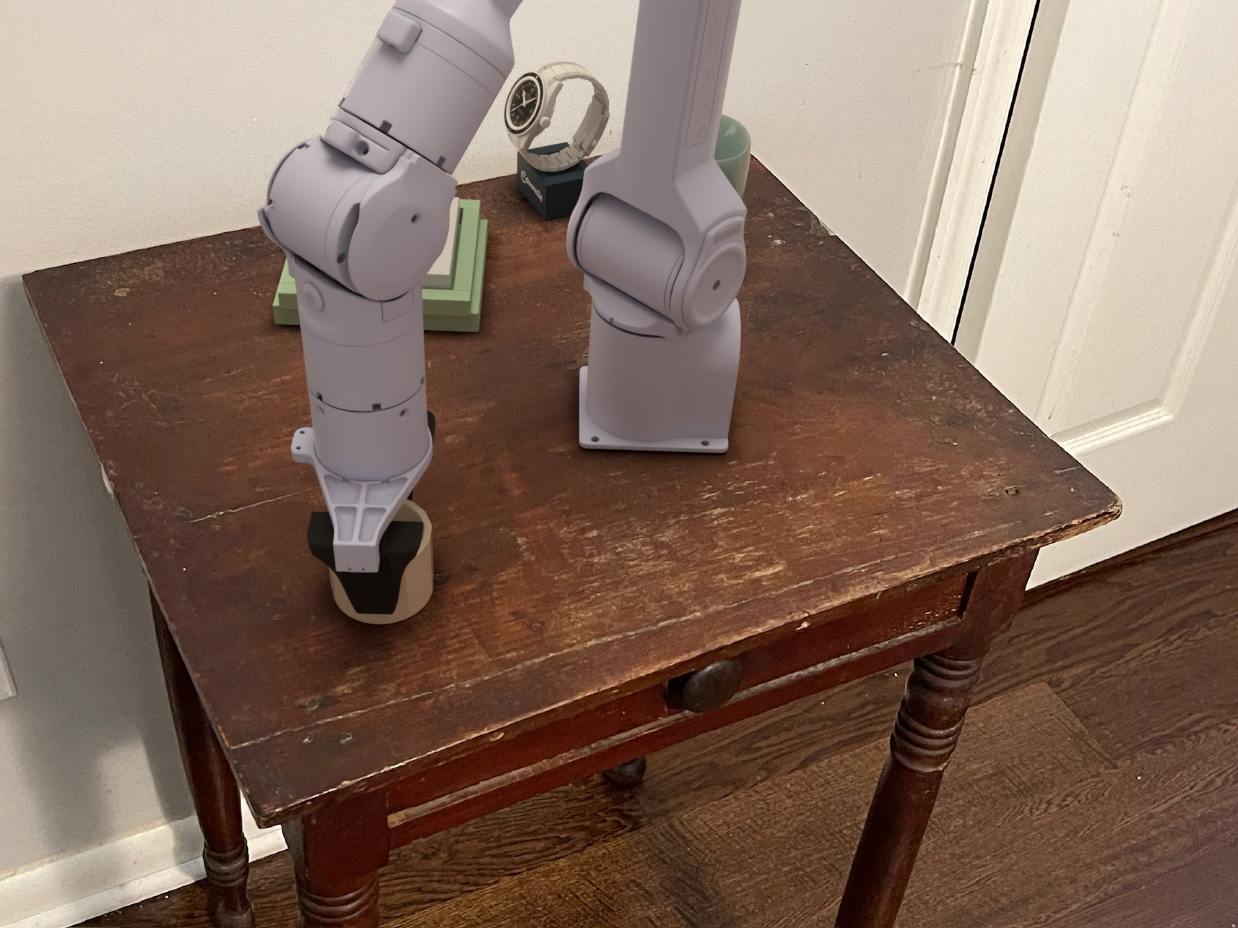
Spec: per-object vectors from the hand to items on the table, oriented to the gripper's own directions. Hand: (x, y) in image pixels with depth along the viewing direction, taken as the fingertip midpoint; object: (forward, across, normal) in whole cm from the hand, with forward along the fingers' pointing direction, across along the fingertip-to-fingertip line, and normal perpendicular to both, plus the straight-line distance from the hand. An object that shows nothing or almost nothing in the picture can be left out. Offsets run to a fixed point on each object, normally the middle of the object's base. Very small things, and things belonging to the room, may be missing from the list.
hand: (381, 566), depth 75 cm
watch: (+2, -42, +9) cm, 43 cm away
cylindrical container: (+2, 0, 0) cm, 2 cm away
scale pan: (-1, -30, -3) cm, 30 cm away
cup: (+2, -35, +19) cm, 40 cm away
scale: (+2, -30, -3) cm, 30 cm away
